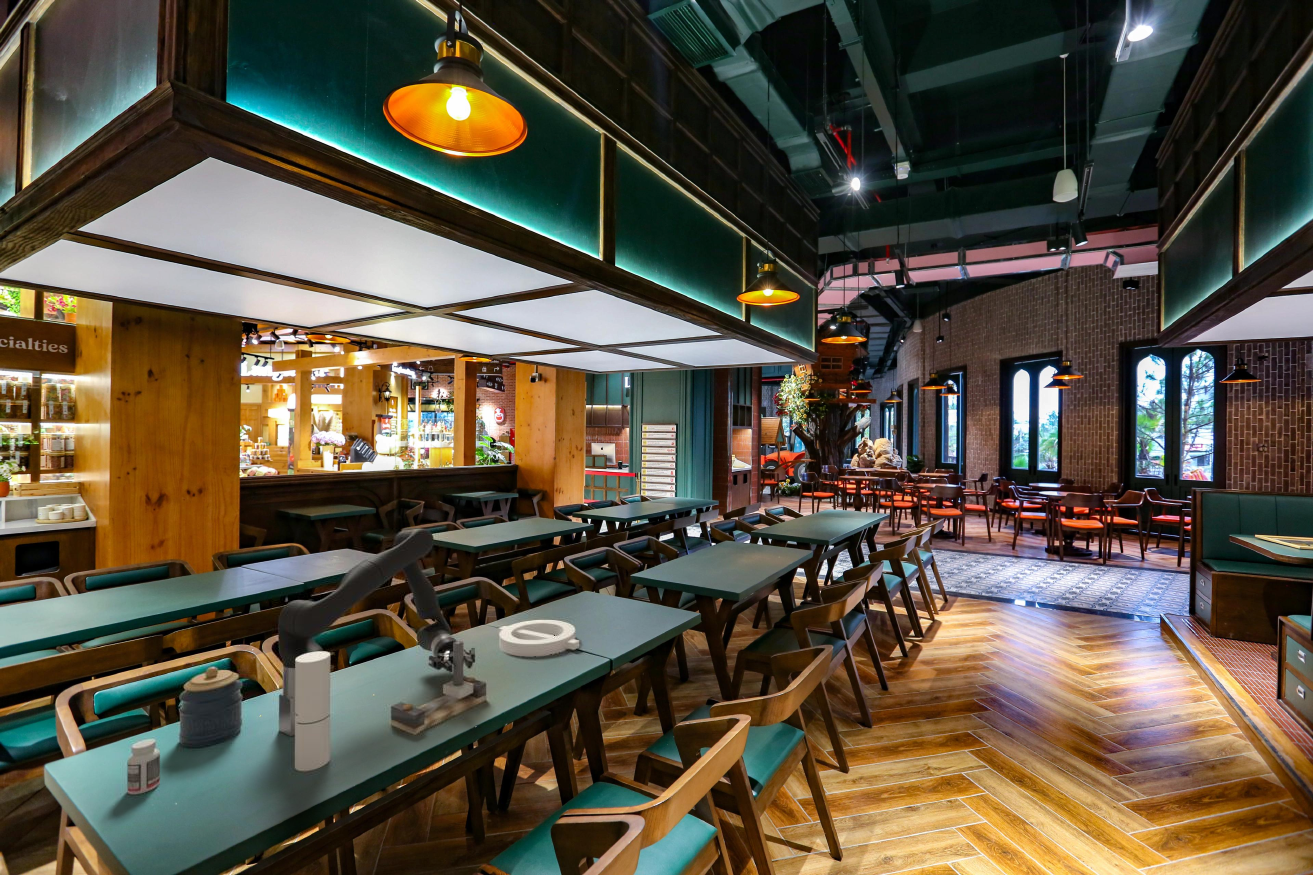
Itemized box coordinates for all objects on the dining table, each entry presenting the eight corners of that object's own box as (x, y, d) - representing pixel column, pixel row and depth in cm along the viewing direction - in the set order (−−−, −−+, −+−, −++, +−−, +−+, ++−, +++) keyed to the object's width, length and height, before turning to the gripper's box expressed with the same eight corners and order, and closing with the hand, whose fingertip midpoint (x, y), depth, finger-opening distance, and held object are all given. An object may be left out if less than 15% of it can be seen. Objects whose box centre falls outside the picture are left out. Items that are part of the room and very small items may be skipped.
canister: (252, 721, 158) (252, 656, 158) (224, 746, 145) (225, 675, 145) (199, 725, 156) (199, 659, 156) (166, 750, 143) (166, 678, 143)
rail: (414, 734, 151) (414, 712, 151) (390, 724, 156) (391, 703, 156) (486, 699, 171) (486, 680, 171) (463, 691, 177) (463, 673, 177)
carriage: (459, 698, 165) (459, 647, 165) (443, 693, 169) (443, 642, 169) (473, 692, 169) (473, 642, 169) (457, 686, 173) (457, 638, 173)
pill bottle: (157, 777, 131) (158, 734, 132) (161, 787, 128) (161, 742, 128) (125, 788, 128) (125, 743, 128) (128, 798, 124) (128, 752, 124)
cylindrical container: (322, 751, 143) (323, 649, 143) (334, 761, 138) (335, 655, 139) (290, 763, 137) (290, 657, 138) (301, 774, 133) (302, 664, 133)
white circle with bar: (497, 635, 229) (497, 623, 229) (568, 628, 238) (569, 617, 238) (501, 661, 202) (501, 647, 202) (581, 652, 211) (581, 639, 211)
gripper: (421, 641, 177) (434, 658, 163) (469, 632, 185) (485, 648, 171) (421, 665, 177) (434, 685, 163) (469, 656, 185) (485, 674, 171)
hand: (460, 666), depth 167 cm, fingers open, 4 cm apart
